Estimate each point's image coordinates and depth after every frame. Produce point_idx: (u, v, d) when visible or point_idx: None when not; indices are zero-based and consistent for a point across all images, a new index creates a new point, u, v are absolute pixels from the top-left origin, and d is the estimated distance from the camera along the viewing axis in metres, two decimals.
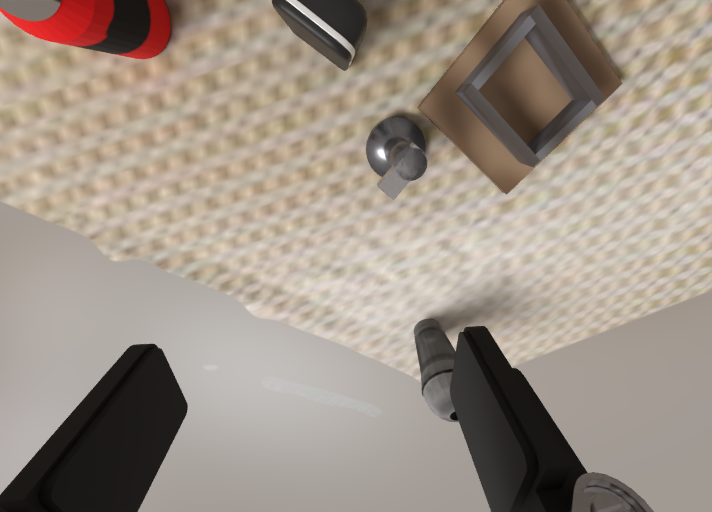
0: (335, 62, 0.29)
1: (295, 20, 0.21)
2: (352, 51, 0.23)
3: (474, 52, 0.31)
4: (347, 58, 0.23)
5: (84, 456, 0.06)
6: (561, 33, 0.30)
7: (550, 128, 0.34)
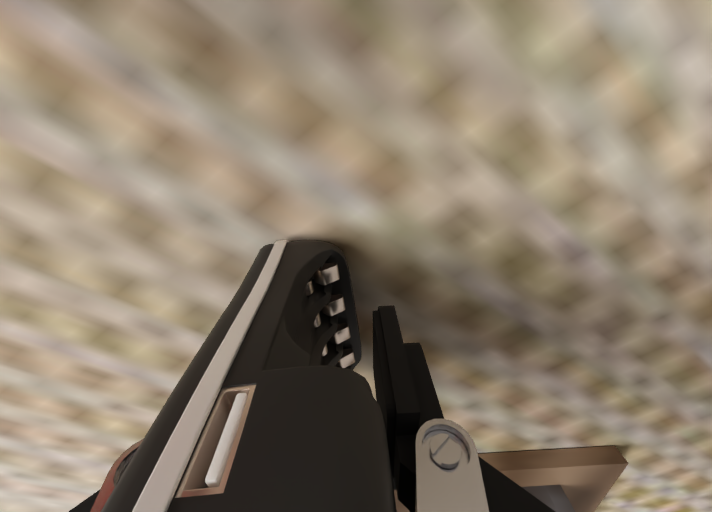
0: None
1: None
2: None
3: None
4: None
5: None
6: None
7: None
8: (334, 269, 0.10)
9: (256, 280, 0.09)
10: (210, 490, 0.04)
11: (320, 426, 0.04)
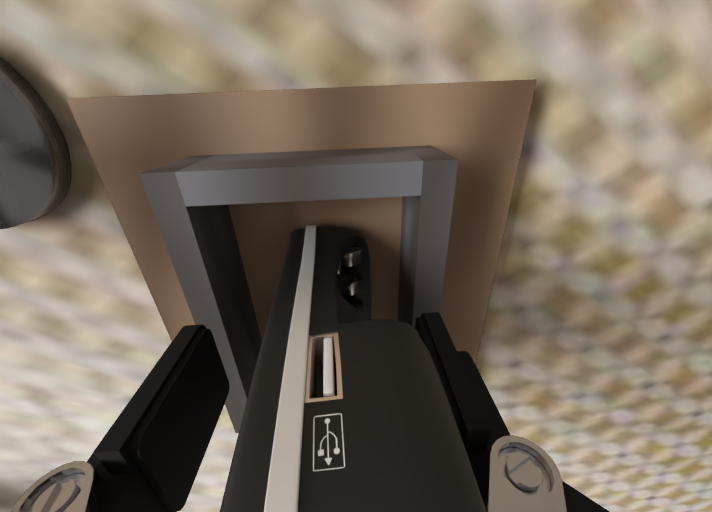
0: None
1: None
2: None
3: (289, 117, 0.10)
4: None
5: (159, 418, 0.07)
6: (459, 253, 0.13)
7: None
8: (359, 253, 0.12)
9: (300, 258, 0.10)
10: (332, 397, 0.05)
11: (401, 358, 0.06)
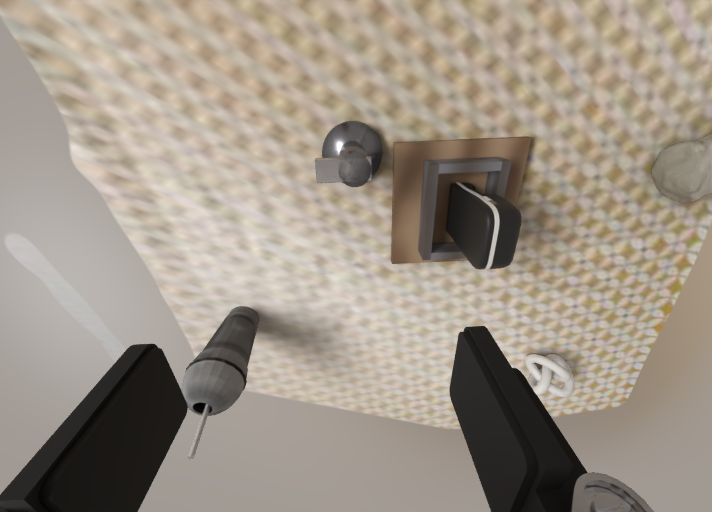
0: (452, 231, 0.36)
1: (485, 234, 0.28)
2: (482, 269, 0.31)
3: (457, 148, 0.35)
4: (476, 268, 0.31)
5: (84, 455, 0.06)
6: (504, 194, 0.37)
7: (452, 245, 0.39)
8: None
9: (462, 188, 0.34)
10: (491, 200, 0.29)
11: (501, 197, 0.30)
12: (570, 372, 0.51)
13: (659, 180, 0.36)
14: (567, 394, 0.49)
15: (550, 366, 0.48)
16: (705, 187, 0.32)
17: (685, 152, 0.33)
